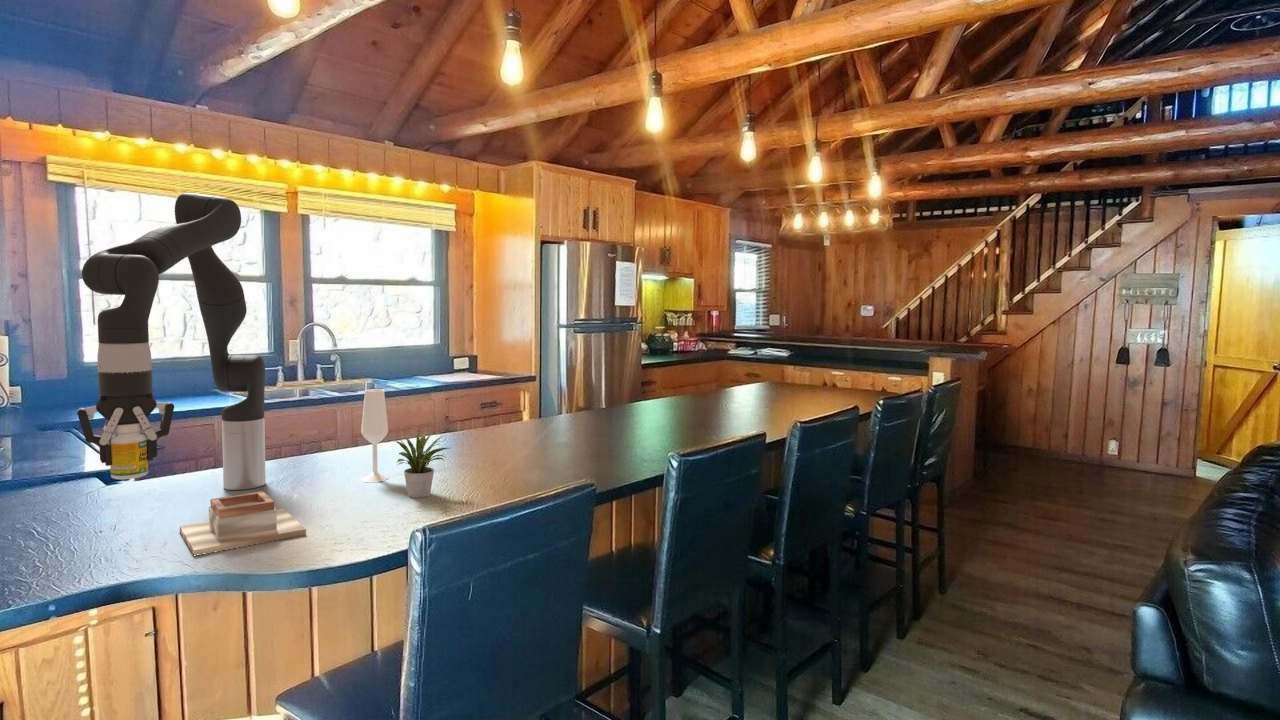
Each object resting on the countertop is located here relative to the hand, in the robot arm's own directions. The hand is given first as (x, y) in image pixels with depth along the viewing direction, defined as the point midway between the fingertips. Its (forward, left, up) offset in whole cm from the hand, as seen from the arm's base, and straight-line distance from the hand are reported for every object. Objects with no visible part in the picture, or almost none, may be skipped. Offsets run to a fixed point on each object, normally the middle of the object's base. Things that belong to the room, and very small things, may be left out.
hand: (129, 462), depth 118 cm
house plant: (-7, +56, -18) cm, 59 cm away
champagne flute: (-29, +54, -18) cm, 64 cm away
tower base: (-3, +18, -18) cm, 25 cm away
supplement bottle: (0, 0, -3) cm, 3 cm away
